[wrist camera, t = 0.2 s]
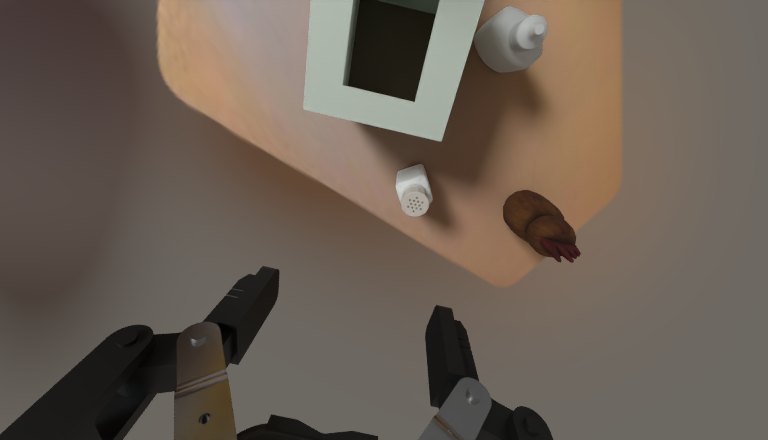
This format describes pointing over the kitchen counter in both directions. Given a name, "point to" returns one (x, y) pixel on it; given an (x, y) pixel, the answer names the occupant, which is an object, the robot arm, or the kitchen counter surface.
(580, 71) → the kitchen counter surface
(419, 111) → the tissue box
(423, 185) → the salt shaker
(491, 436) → the robot arm
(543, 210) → the wooden figurine
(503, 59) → the eye dropper bottle
